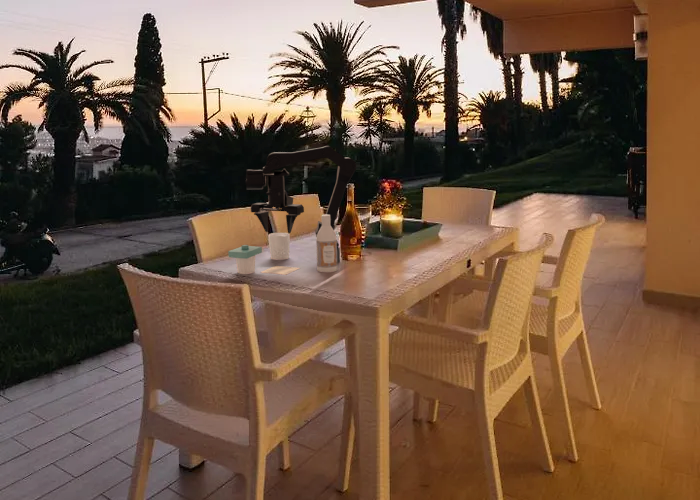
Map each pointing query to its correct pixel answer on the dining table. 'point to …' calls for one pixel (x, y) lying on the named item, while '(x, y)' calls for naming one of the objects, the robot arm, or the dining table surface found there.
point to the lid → (245, 251)
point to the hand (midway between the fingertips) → (278, 232)
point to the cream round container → (246, 265)
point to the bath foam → (326, 247)
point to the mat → (280, 270)
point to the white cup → (279, 245)
